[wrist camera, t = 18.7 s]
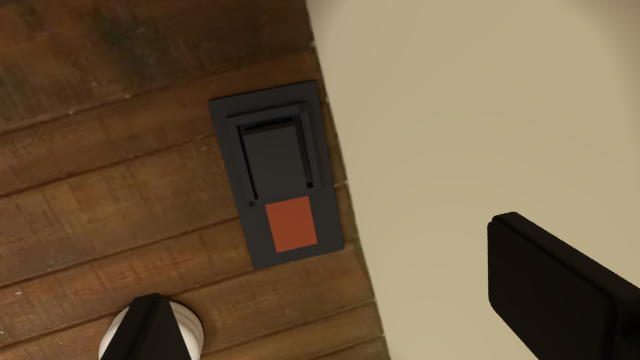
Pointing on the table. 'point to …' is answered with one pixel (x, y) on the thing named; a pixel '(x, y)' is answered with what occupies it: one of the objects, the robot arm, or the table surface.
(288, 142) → the dark grey block
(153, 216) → the table surface
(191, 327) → the coaster
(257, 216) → the base pad
